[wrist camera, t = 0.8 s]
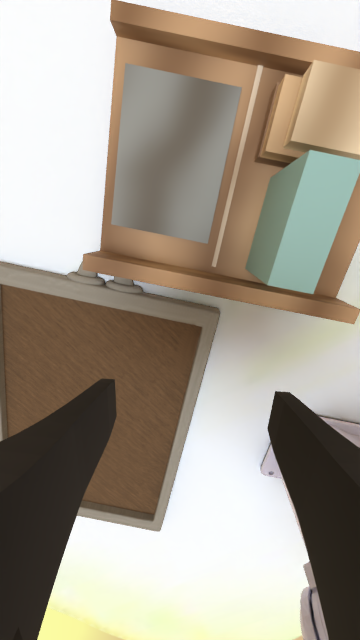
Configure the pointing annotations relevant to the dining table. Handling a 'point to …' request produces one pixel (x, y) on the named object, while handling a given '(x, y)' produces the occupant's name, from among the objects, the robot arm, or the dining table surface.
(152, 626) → the dining table surface
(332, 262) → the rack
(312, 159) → the rectangular block
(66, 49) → the dining table surface
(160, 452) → the clipboard
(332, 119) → the offcut stack
